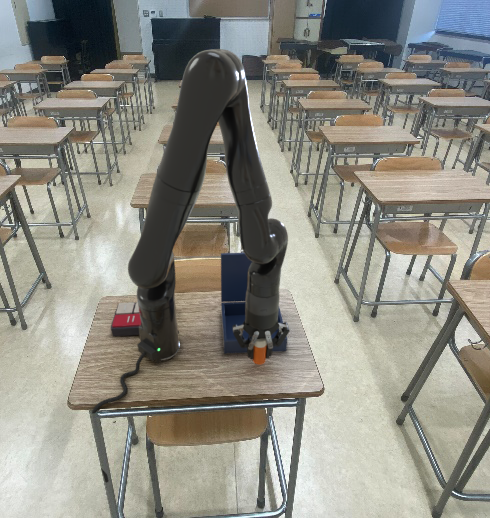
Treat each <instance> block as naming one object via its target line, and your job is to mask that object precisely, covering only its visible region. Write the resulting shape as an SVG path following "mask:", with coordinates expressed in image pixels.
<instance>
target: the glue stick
mask: <svg viewBox="0 0 490 518" xmlns="http://www.w3.org/2000/svg"><path fill="white" fill-rule="evenodd" d="M253 349H254V353H253V359H251V360H252V362H253V363H254V364H256V365H259V366H261V365H264V364H265V363H266V361H267V359H266V349H267V340H266V339H263V338H260V339H257V340H256V343H255V344H254V347H253Z"/></svg>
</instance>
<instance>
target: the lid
mask: <svg viewBox="0 0 490 518" xmlns="http://www.w3.org/2000/svg"><path fill="white" fill-rule="evenodd" d="M251 263H252V261H250V260H249V259H248V258H247V256H246V255H245V253H244V251H243V249H242V248H241V249H240V252H221V253H220V302H221V303H222V302H245V298H246V291H247V275H248V269H249V266H250V265H251ZM281 276H282V270H281V271H280V277H281ZM280 286H281V284H280V285H279V287H280Z"/></svg>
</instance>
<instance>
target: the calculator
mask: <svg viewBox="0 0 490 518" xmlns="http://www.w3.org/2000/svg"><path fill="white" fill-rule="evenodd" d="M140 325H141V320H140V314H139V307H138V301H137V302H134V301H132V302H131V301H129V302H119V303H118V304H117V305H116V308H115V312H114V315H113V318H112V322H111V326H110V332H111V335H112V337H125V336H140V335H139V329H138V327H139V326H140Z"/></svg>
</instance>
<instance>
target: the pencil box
mask: <svg viewBox="0 0 490 518" xmlns="http://www.w3.org/2000/svg"><path fill="white" fill-rule="evenodd" d="M245 306H246V302H245V301H237V302H221V303H220V311H221V312H220V314H221V315H220V316H221V328H222V329H221V330H222V344H223V354H247V348H246V347H245V348H241V347H240V345H239V343H238V341H237V340H236V338H235V336H234V334H233V325H237V326H240V325H243V322H244V321H245ZM278 322H279V323H281V324H283V323H284V320H283V315H282V311H281V308H280V306H279V311H278ZM278 330H279V329H277V330H276V331H275V332H274V333H273V334H272V335H271V339H273V338H274V337H275V335H276V334H277V332H278ZM242 335H243V337H244V339H245V340H247V339H248V336H249V334H248V333H247V332H246V331H245V330H243V334H242ZM287 346H288V335H287V336H286V338H285V339H284V341H283V342H282V344H281V345H280V346H279V347H277V346H274V347H273V348H272V353H275V352H276V353H277V352H278V353H279V352H287V349H288V348H287Z"/></svg>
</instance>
